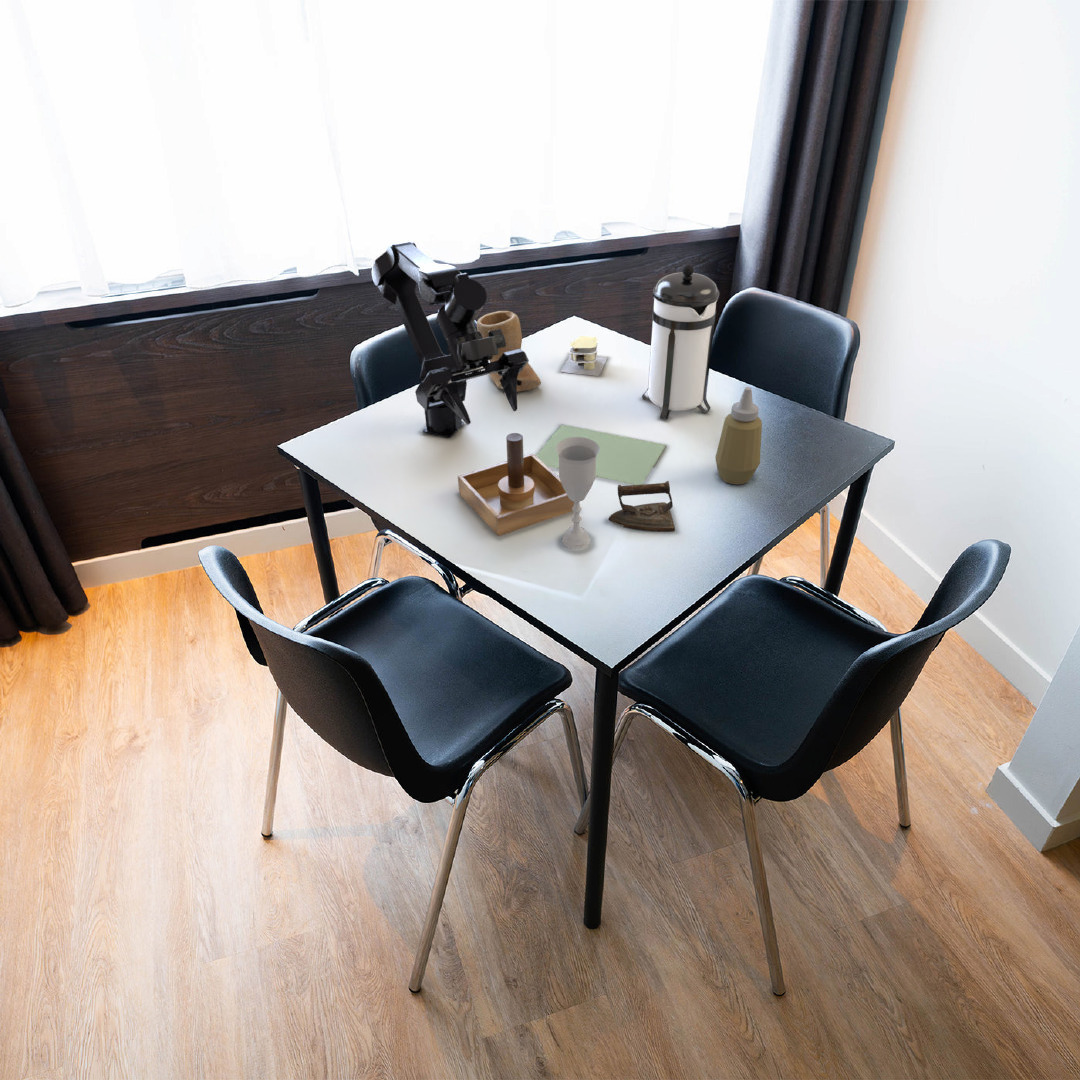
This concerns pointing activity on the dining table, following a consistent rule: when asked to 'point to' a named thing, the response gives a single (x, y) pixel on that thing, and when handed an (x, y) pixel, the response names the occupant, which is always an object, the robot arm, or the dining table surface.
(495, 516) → the tray
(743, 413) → the squeeze bottle
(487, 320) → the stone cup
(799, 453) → the dining table surface
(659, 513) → the clothes iron
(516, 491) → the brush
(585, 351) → the stacked layers on plate
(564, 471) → the chalice
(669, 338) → the coffee press
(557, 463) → the mat
